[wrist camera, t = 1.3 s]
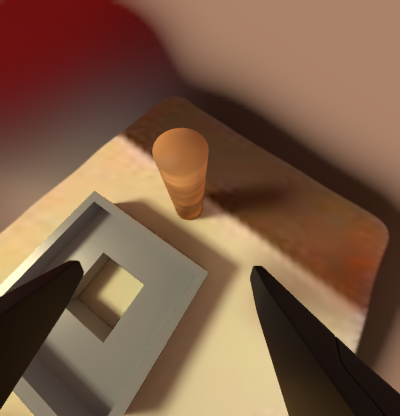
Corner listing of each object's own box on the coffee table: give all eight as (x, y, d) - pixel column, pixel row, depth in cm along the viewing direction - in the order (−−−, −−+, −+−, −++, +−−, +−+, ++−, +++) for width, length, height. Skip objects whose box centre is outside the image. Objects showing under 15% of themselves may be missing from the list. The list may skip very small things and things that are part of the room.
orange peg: (206, 204, 23) (218, 144, 11) (192, 225, 22) (187, 184, 10) (185, 191, 24) (175, 120, 12) (170, 210, 23) (140, 155, 11)
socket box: (205, 269, 20) (208, 272, 16) (117, 416, 16) (87, 475, 11) (113, 203, 23) (94, 191, 19) (13, 311, 18) (-43, 327, 14)
